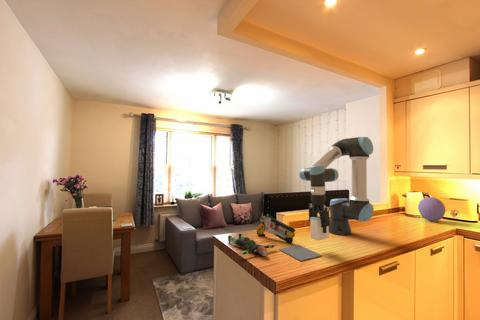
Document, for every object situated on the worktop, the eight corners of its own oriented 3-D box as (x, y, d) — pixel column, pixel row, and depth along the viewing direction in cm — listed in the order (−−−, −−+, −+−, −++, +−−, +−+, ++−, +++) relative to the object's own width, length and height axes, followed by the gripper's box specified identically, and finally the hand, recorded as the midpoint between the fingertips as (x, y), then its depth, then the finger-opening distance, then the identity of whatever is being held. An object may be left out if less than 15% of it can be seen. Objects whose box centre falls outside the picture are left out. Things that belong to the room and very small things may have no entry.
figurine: (215, 245, 131) (244, 266, 106) (215, 235, 131) (245, 253, 106) (251, 238, 145) (284, 255, 120) (251, 228, 145) (285, 243, 120)
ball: (445, 225, 176) (444, 199, 177) (417, 221, 188) (416, 197, 188) (445, 221, 189) (445, 197, 189) (419, 218, 200) (419, 195, 201)
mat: (299, 246, 130) (299, 245, 130) (322, 256, 115) (322, 255, 115) (279, 250, 124) (279, 248, 124) (300, 261, 108) (300, 260, 108)
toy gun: (258, 231, 154) (262, 210, 152) (291, 251, 137) (296, 228, 134) (254, 232, 151) (258, 211, 149) (287, 253, 134) (293, 229, 131)
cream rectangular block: (321, 235, 127) (320, 215, 127) (328, 237, 122) (328, 217, 122) (310, 237, 123) (310, 217, 123) (317, 240, 119) (317, 219, 119)
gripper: (301, 192, 129) (302, 233, 129) (326, 196, 113) (327, 243, 113) (311, 191, 133) (312, 231, 132) (336, 195, 116) (338, 240, 116)
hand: (319, 237), depth 122 cm, fingers closed on cream rectangular block, 5 cm apart
